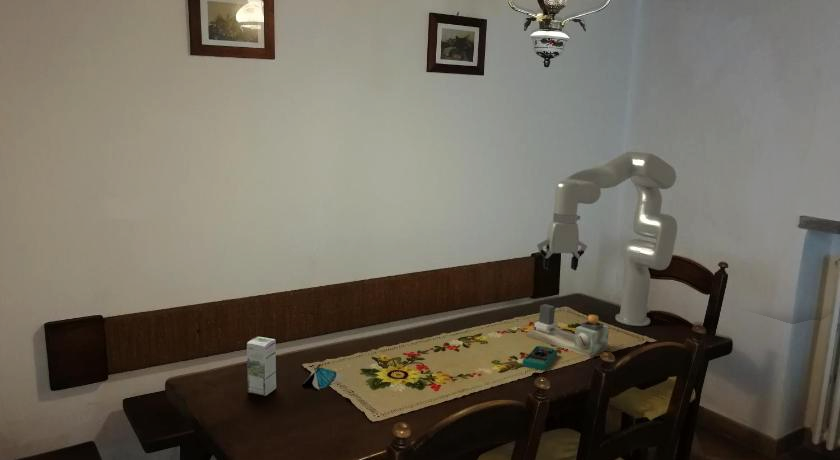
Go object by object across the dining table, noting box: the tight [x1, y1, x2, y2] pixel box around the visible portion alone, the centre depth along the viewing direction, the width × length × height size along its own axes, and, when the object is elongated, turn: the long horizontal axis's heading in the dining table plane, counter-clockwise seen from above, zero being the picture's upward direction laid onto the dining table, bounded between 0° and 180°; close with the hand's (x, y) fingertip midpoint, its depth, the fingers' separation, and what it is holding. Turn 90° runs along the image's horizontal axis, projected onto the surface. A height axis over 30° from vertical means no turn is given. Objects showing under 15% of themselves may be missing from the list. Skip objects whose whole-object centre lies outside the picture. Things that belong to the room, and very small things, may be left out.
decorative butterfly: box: [304, 363, 344, 390], centre depth 185 cm, size 10×6×10 cm
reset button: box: [587, 314, 599, 324], centre depth 215 cm, size 3×3×2 cm
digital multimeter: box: [521, 345, 558, 371], centre depth 207 cm, size 7×15×3 cm, turn 153°
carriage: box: [533, 303, 559, 333], centre depth 229 cm, size 7×5×9 cm
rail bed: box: [526, 319, 610, 358], centre depth 223 cm, size 12×25×9 cm, turn 44°
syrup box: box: [246, 336, 277, 397], centre depth 177 cm, size 6×6×14 cm
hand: (560, 269), depth 219 cm, fingers open, 9 cm apart
